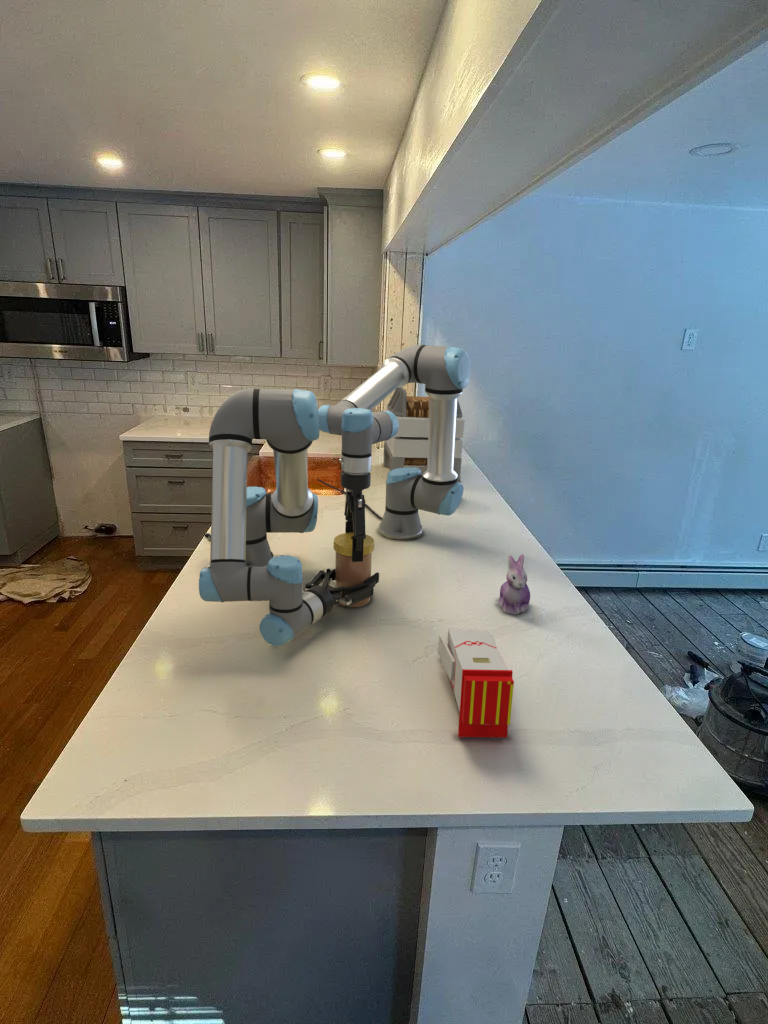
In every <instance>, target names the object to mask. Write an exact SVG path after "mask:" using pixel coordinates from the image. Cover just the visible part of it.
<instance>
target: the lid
mask: <svg viewBox="0 0 768 1024" xmlns="http://www.w3.org/2000/svg"><path fill="white" fill-rule="evenodd" d="M351 536H354V533H345V532H344V533H339V534H338V535H336V536H335V537H334V539H333V550H334V552H335V553H336V552H337V553H339V554H341V555H345V556H352V541H353V539H351ZM374 551H375V539H374V538H373V536H371V535H369V534H366V538H365V539H364V544H363V556H365V555H368V554H370V553H372V554H373V553H374Z"/></svg>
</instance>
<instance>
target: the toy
mask: <svg viewBox="0 0 768 1024" xmlns="http://www.w3.org/2000/svg"><path fill="white" fill-rule="evenodd" d="M446 640H447V643H446V641H445V639H444V636H443V635H442V634H439V637H438V646H437V656H438V657H439V659H440V661H441V663H442V666H443V668H444V670H445V672H446V674H447V677H448V679H449V681H450V684H451V687H452V690H453V693H454V697H455V701H456V705H457V708H458V711H459V714H458V715H459V716H458V730H457V731H458V732H457V737H458V738H508V731H509V726H510V725H511V717H512V707H513V697H514V696H513V695H514V684H515V680H514V679H513V673H514V671H513V670H512V669H508V667H507V665H506V662H505V661H504V659H503V658H502V655H501V653H500V651H499V649H498V647H497V643H496V639H495V637H494V635H493V634H491V632H490V631H489V629H467V628H466V629H465V628H463V629H461V628H460V629H459V628H448V630H447V639H446Z"/></svg>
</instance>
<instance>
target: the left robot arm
mask: <svg viewBox="0 0 768 1024" xmlns="http://www.w3.org/2000/svg"><path fill="white" fill-rule="evenodd" d="M318 410H319V408H318V401H317V397H316V395H315V393H314V392H313V391H311V390H306V389H299V388H295V389H283V388H282V389H280V388H278V389H277V388H254V387H253V388H252V387H251V388H243V389H240V390H238V391H236V392H233V393H232V394H231V395H229V396H228V398H226V399H225V400H224V401H223V403H222V404H221V405H220V406H219V407H218V409H217V411H216V412H215V414H214V417H213V419H212V421H211V424H210V427H209V432H208V447H209V448H210V450H212V482H211V483H212V484H211V519H210V533H208V532H207V533H205V534H204V538H205V537H207V538H209V539H210V555H209V556H210V557H209V560H210V561H209V566H207V567H202V569H200V572H199V579H198V594H199V596H200V599H201V600H202V601H204V602H210V603H211V602H213V603H214V602H218V603H227V602H263V601H264V602H265V601H266V602H268V611H269V612H268V613H267V614H265V616H264V617H262V618H261V620H260V623H259V626H258V628H259V633H260V635H261V638H262V639H263V640H264V641H265V642H266V643H267V644H268V645H271V646H273V647H281V646H283V645H285V644H286V643H288V642H290V641H293V640H294V638H296V637H297V636H298V635H300V634H301V633H302V632H304V631H305V630H307V629H308V628H309V627H311V626H312V625H313V624H315V623H316V622H317V621H319V620H320V619H321V618H323V617H325V616H326V615H327V614H329V613H330V612H331V611H332V610H333V608H334V607H335V606H337V605H340V603H342V604H345V606H344V608H345V609H349V608H351V607H350V606H352V605H353V604H355V603H357V602H360V601H362V600H364V599H367V598H369V597H370V598H371V597H373V596H374V593H375V587H376V585H377V584H378V583H379V582H380V572H375V573H374V574H371V577H369V578H368V579H367V580H365V581H364V584H359V585H355V586H351V587H346V588H345V587H339V588H335V586H333V585H330V584H331V581H332V582H335V568H333V569H331V568H326V569H325V571H324V570H323V569H320V570H319V571H318V572H317V573H316V574H315V575H314V576H313V578H312V579H311V580H310V581H308V582H306V583H305V584H304V576H303V575H304V574H303V564H302V561H301V560H300V559H299V558H297V557H296V556H292V555H288V554H281V555H279V556H277V555H276V556H275V555H274V553H273V550H272V549H271V546H270V544H269V543H270V542H269V541H268V533H270V534H272V533H291V534H292V533H293V534H295V533H299V534H305V533H311V532H313V531H314V530H315V529H316V526H317V522H318V514H319V498H318V495H317V494H316V493H313V492H312V489H310V488H309V476H308V472H309V471H308V469H309V468H308V467H309V466H308V465H309V464H308V462H309V461H308V449H309V448H310V447H311V446H312V443H313V442H314V441H317V440H319V438H320V430H319V416H318ZM253 440H262V441H263V440H264V441H266V444H267V445H268V446H269V448H271V449H272V452H273V464H274V465H273V466H274V475H275V485H276V489H275V490H274V491H273V493H271V492H270V493H267V491H266V488H264V487H262V486H247V485H248V453H249V452H250V451H251V450H252V449H253ZM303 588H304V589H303ZM341 591H342V596H341Z"/></svg>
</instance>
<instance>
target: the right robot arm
mask: <svg viewBox="0 0 768 1024" xmlns="http://www.w3.org/2000/svg"><path fill="white" fill-rule="evenodd" d="M471 376H472V364H471V359H470V357H469V355H468V353H467V351H466V350H464V349H463V348H461V347H454V346H448V345H447V346H446V345H431V344H415V345H410V346H408V347H405V348H403V349H400V350H398V351H396V352H394V353H393V354H392V355H390V356H389V357H387V358H386V359H385V360H384V361H383V362H382V364H381V367H380V368H379V369H378V370H377V371H375V372H374V373H373V374H372V375H371V376H369V377H368V378H367V379H365V380H364V381H363V382H361V384H360V385H358V386H357V387H356V388H354V389H353V390H352V391H351V392H350V393H349V394H347V395H345V397H343V398H342V399H341V400H340V401H338V402H337V403H336V404H334V405H332V404H324V405H323V404H322V405H321V406H320V407H319V408H318V416H319V432H322V433H326V434H330V435H335V436H341V458H339V459H338V462H339V463H341V466H340V470H342V471H341V472H340V486H341V487H342V488H344V489H345V491H344V490H343V489H340V488H337V487H335V486H333V485H331V484H329V483H327V482H325V481H322V480H321V479H319V478H317V480H316V481H318V482H319V483H322V484H323V485H325V486H327V487H329V488H332V489H334V490H336V491H338V492H341V493H343V494H345V503H344V512H343V514H344V518H345V530H344V531H345V532H344V533H354V536H351V539H353V541H352V562H360V561H363V544H364V539H365V538H366V535H367V534H366V533H367V532H366V508H367V509H368V510H369V511H370V513H372V514H374V515H375V517H377V518H378V519H379V520H381V522H379V525H378V533H379V534H380V535H381V536H382V537H385V538H387V539H389V540H395V541H410V540H415V539H418V538H420V537H421V536H422V535H423V525H422V524H421V517H420V515H419V510H420V511H425V512H429V513H432V514H436V515H438V516H439V515H442V516H447V517H448V516H449V517H450V516H452V515H453V514H454V513H456V511H457V510H458V508H459V506H460V504H461V502H462V499H463V496H464V484H463V483H462V482H461V483H460V482H457V478H458V475H457V473H456V472H455V471H454V470H453V466H454V448H455V430H456V412H457V398H458V399H459V397H460V396H461V395H462V394H463V390H464V389H466V388H467V387H468V386H469V384H470V379H471ZM413 383H414V384H422V385H424V392H425V394H427V397H430V403H429V430H428V458H427V466H426V470H424V471H423V472H422V470H421V468H419V467H413V466H411V467H409V466H406V467H404V468H397V469H393V470H391V471H390V470H389V471H388V472H387V475H386V480H385V504H384V505H385V507H384V508H385V509H384V513H383V515H382V517H381V516H380V515H379V514H378V513H376V512H375V511H374V510H373V509H372V508H371V507H370V506H369V505H368V504H367V503H366V499H365V494H363V491H364V490H367V489H369V488H370V487H371V482H372V480H371V479H372V472H371V471H372V458H373V455H372V449H373V445H375V444H378V443H381V442H386V440H389V439H390V438H392V437H394V436H395V435H396V434H397V432H398V429H399V422H398V419H397V417H396V416H395V415H394V414H393V413H392V412H390V411H387V410H379V411H373V410H374V409H375V408H376V407H377V406H378V405H379V404H380V403H382V402H383V401H384V400H385V399H386V398H387V397H389V396H390V395H391V394H392V393H394V392H395V390H396V388H400V387H402V388H403V387H405V386H406V385H407V384H413Z"/></svg>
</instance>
